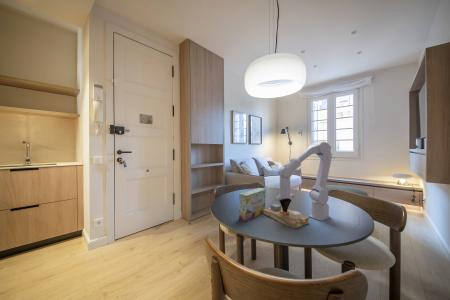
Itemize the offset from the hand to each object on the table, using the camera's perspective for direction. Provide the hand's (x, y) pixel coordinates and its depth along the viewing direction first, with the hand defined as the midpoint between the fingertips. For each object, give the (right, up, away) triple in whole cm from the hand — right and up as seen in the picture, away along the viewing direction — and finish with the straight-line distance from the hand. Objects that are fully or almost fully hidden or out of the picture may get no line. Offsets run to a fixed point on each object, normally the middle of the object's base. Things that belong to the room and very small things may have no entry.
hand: (284, 211), depth 102 cm
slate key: (-4, -2, +6) cm, 7 cm away
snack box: (-18, -5, +5) cm, 19 cm away
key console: (0, -4, 0) cm, 4 cm away
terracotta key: (0, -4, 0) cm, 4 cm away
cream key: (+4, -3, -6) cm, 7 cm away
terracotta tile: (+6, -4, +7) cm, 10 cm away
